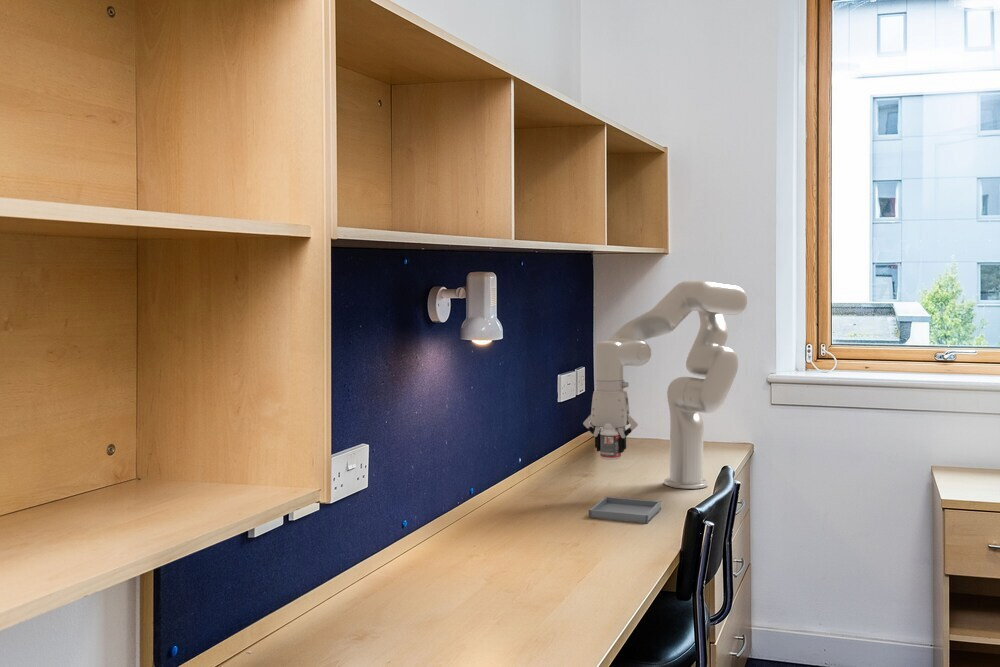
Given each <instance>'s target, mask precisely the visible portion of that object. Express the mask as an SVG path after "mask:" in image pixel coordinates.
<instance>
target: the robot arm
mask: <svg viewBox="0 0 1000 667" xmlns="http://www.w3.org/2000/svg"><path fill="white" fill-rule="evenodd" d="M747 304H748V296H747V294H746V292H745V290H744V289H743V288H741V287H740V286H738V285H732V284H725V283H724V284H723V283H717V282H712V281H706V280H705V281H703V280H702V281H701V280H699V281H697V280H688V281H687V280H685V281H681V282H679V283H677V284H675V286H673V287H672V288H671V289H670V291H668V293H667V294H666V295H665V296H664V297H662V299H661V300H660V301H659V302H657V303H656V305H654V307H652V309H650V310H649V311H647V312H644V313H642V314H640V315H639V316H637V317H635V318H633V319H631V320H630V321H628V322H626V323H625V324H623V325H622V326H621V327H620V328H618V329H617V331H615V332H614V333H613V334H612V336H611V337H609V338H608V340H603V341H602V340H601V341H598V342H597V343H596V344H595V353H594V354H595V356H594V357H595V390H594V391H593V394H592V399H591V400H592V401H591V411H590V414H589V415H588V416H587V418H586V419H585V420H584V421H582V422H583V423H582V424H583V426H584V427H585V428H586V429H588V431H589V432H590V434H591V435H592V436H593V437H594V448H595V449H596V452H600V432H601V430H603V427H605V424H611V425H612V427H614V428H618V430H619V433H620V435H621V436H620V438H619V452H620V453H621V454H622V453H624V452H625V450H626V449H627V437H628V436H629V435H630V434H631V433H632V431H633V430H635V429H636V428H637V427H638V425H639V423H638V422H636V421H635V419H634V418H633V417H632V415H631V414H630V404H629V397H628V396H629V395H628V392H627V390H624V389H625V388H629V385H630V384H629V382H626V381H625V379H624V367H640V366H644V365H646V364H647V363H648V362H649V361H650V359H651V356H652V348H651V347H650V344H648V342H646V341H647V340H650V339H652V338H656V337H657V338H658V337H661V336H664V335H667V334H670V333H671V332H674V330H675V329H676V328H677V327H678V326H679V324H681V323H682V322H683V321H684V320H685V319H686V318H687V317H688V316H689V315H690V314H691V313H692V312H697V313H698V317H699V323H700V324H699V330H698V333H697V335H696V337H695V339H694V341H693V344H692V346H691V348H690V350H689V353H688V355H687V357H686V362H685V368H686V370H687V372H688V373H690V374H691V375H694V376H696V377H694V376H692V377H691V376H679V377H675V379H673V380H672V381H671V382H670V383H669V385H668V387H667V391H666V397H667V402H668V408H669V420H670V422H669V424H670V426H669V427H670V428H669V431H670V432H669V477H666V478H664V479H663V484H664V485H665V486H668V487H670V488H675V489H684V490H685V489H686V490H689V489H693V490H694V489H703V488H706V487H708V486H709V482H708V480H706V479H705V478H703V472H704V471H703V470H704V467H703V466H704V420H703V417H702V414H701V413H705V414H714V413H716V412H718V411H719V410H720V409H721V408H722V406H723V405H724V403H725V400H726V399H727V397H728V394H729V392H730V389H731V388H732V386H733V382H734V381H735V378H736V376H737V374H738V370H739V359H738V356H737V353H736V352H735V350H733V349H732V348H730V347H728V346H725V345H726V342H727V340H728V337H729V329H728V325H727V322H726V319H725V316H737V315H739V314H741V313H743V312H744V310H745V309H746V308H747ZM724 315H725V316H724ZM699 377H700V378H699ZM701 377H702V378H701ZM629 425H630V426H629ZM627 426H629V427H628V428H627V429H626V427H627Z"/></svg>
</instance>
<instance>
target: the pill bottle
mask: <svg viewBox="0 0 1000 667" xmlns="http://www.w3.org/2000/svg"><path fill="white" fill-rule="evenodd" d="M620 436H621V435H620V433H619V430H618V428H614V427H612V425H611V424H605V427H602V430H601V432H600V451H599V452H600V453H599V454H600V456H599V457H600V458H601V459H604V460H608V461H609V460H614V461H615V460H618V459H621V457H622V453H620V452H619V438H620Z"/></svg>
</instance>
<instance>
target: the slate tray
mask: <svg viewBox="0 0 1000 667" xmlns="http://www.w3.org/2000/svg"><path fill="white" fill-rule="evenodd" d="M661 510H662V501H658V500H648V499H647V500H646V499H635V498H625V497H617V496H616V497H614V496H612V497H611V496H605V497H603V498H602V499H600V501H599V502H597V503H596V504H594V505H593V506H592V507H590V508H589V509H588V518H589V519H597V520H598V519H599V520H608V521H617V522H618V521H619V522H629V523H638V524H639V523H640V524H649V522H650V521H652V519H653V518H654V517H655V516H656V515H657V514H658V513H660V511H661Z"/></svg>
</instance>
